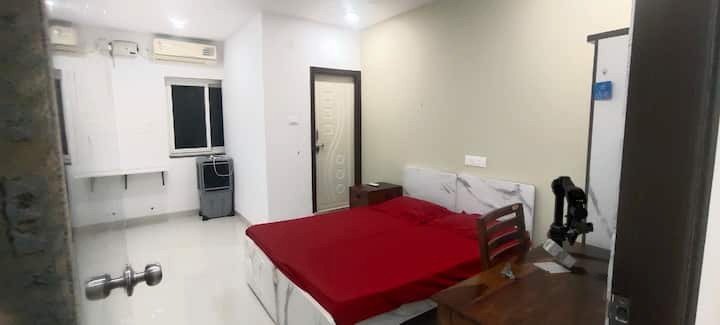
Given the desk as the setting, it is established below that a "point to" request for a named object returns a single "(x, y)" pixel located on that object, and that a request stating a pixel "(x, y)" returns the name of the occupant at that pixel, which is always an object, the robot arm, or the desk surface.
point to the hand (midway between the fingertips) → (571, 245)
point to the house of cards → (507, 272)
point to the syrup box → (559, 253)
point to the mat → (552, 267)
